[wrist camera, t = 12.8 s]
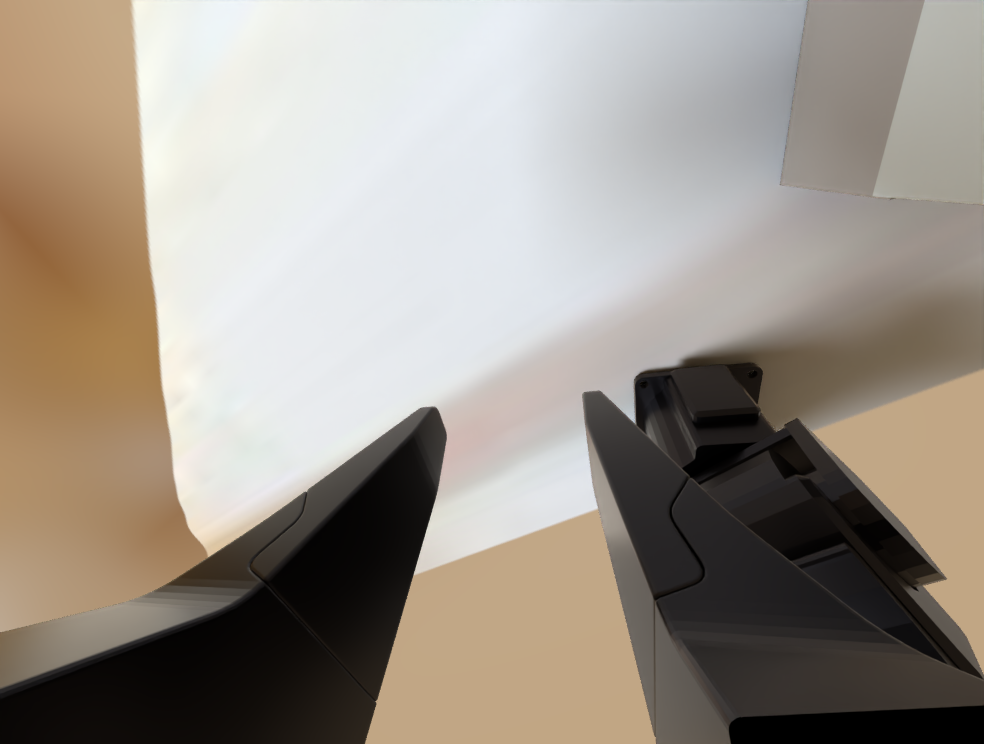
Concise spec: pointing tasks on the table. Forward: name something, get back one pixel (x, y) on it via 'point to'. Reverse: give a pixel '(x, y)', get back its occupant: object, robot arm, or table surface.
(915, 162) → the rear flap
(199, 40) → the table surface
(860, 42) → the cabinet
